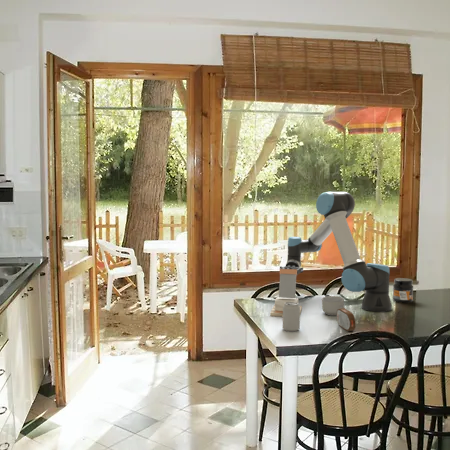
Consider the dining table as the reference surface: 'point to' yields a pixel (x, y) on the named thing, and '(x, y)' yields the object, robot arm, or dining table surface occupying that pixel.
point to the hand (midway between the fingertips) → (288, 274)
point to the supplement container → (403, 290)
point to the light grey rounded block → (332, 304)
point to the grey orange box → (287, 283)
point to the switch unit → (279, 305)
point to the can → (291, 316)
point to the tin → (346, 319)
